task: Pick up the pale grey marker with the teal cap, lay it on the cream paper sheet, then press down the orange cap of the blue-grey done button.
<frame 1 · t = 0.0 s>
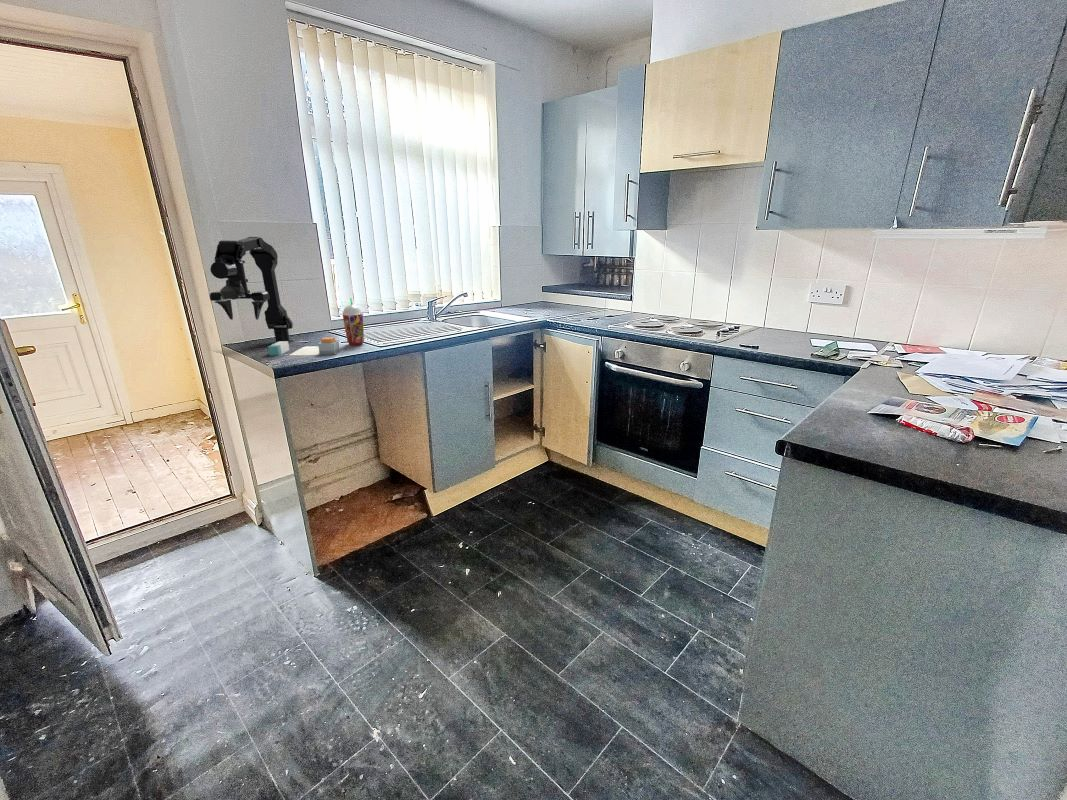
hand: (244, 319, 175), 15 cm above the worktop, tool pointing down, fingers open, 9 cm apart
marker: (279, 352, 188), on the worktop
done button: (328, 341, 187), point 5 cm above the worktop, slide at 0.0 cm
smoothie: (356, 344, 204), on the worktop
button housing: (329, 352, 188), on the worktop
paper sheet: (310, 350, 191), on the worktop
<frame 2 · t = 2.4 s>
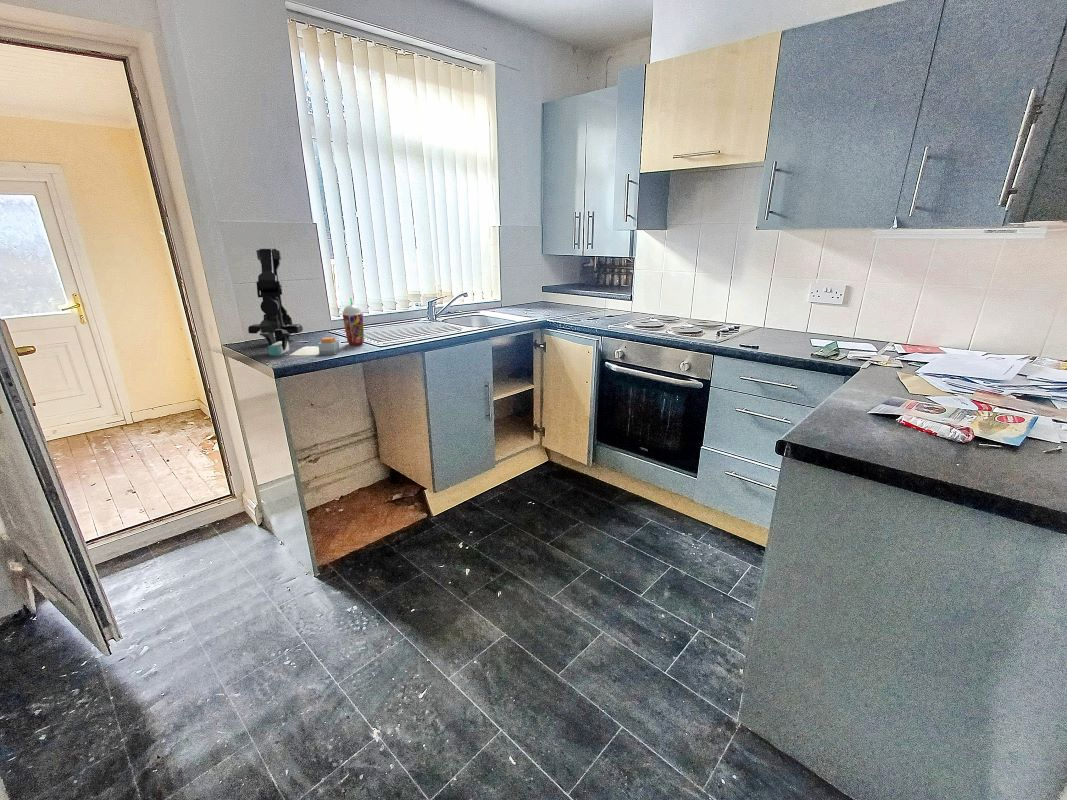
hand: (279, 350, 187), 1 cm above the worktop, tool pointing down, fingers closed on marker, 4 cm apart
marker: (279, 352, 188), on the worktop, touching gripper
everything else where it was.
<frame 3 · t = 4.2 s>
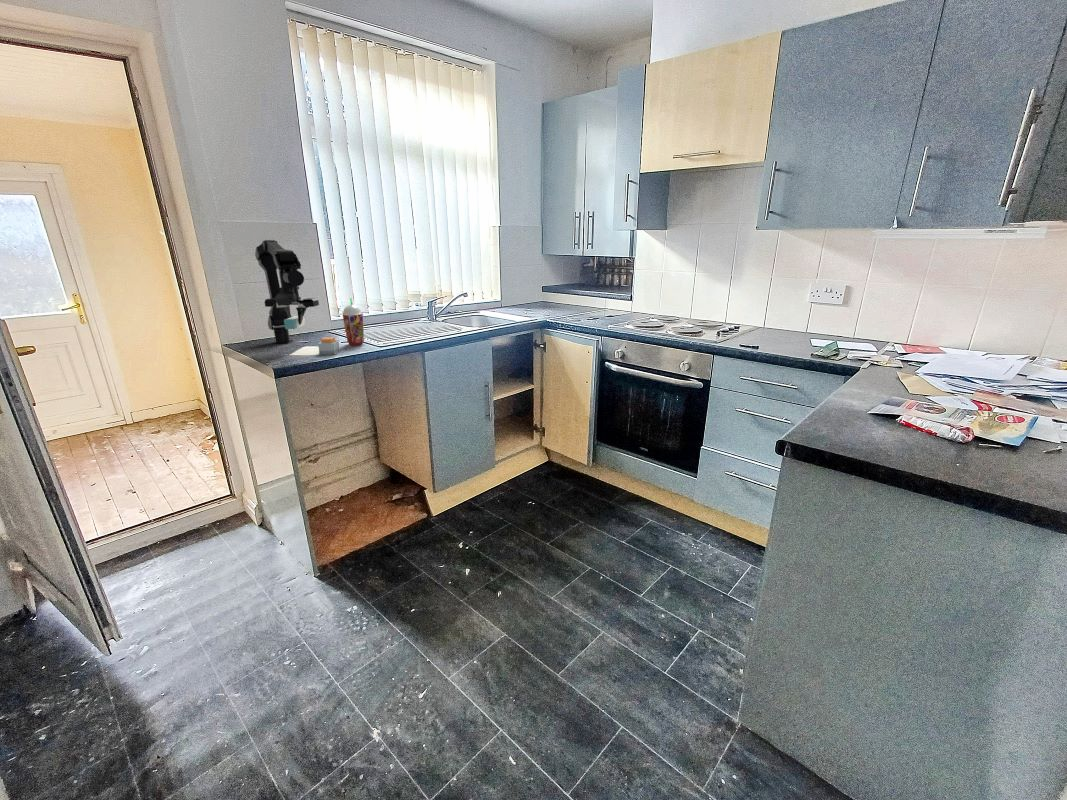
hand: (295, 324, 186), 11 cm above the worktop, tool pointing down, fingers closed on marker, 4 cm apart
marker: (295, 326, 186), point 10 cm above the worktop, touching gripper
everything else where it was.
when the fingers open (2 cm above the worktop, at t = 6.3 s): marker drops 1 cm, resting on paper sheet.
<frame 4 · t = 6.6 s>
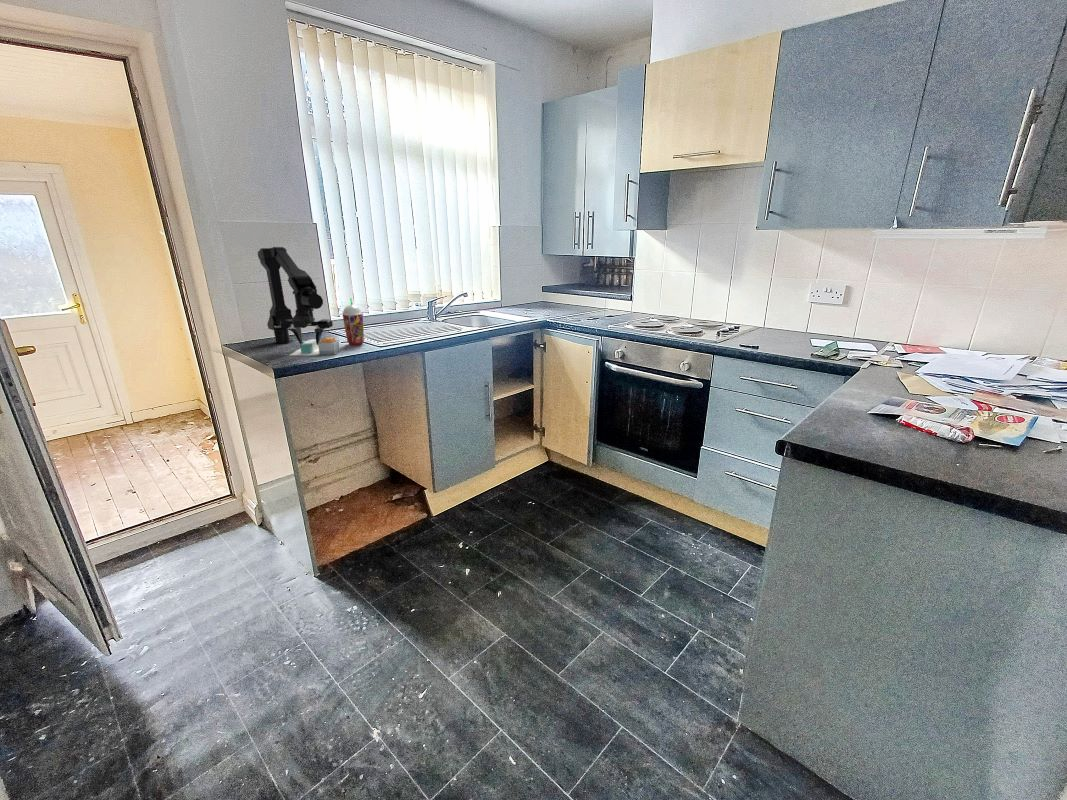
hand: (309, 344, 191), 2 cm above the worktop, tool pointing down, fingers open, 6 cm apart
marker: (310, 350, 191), resting on paper sheet
everything else where it was.
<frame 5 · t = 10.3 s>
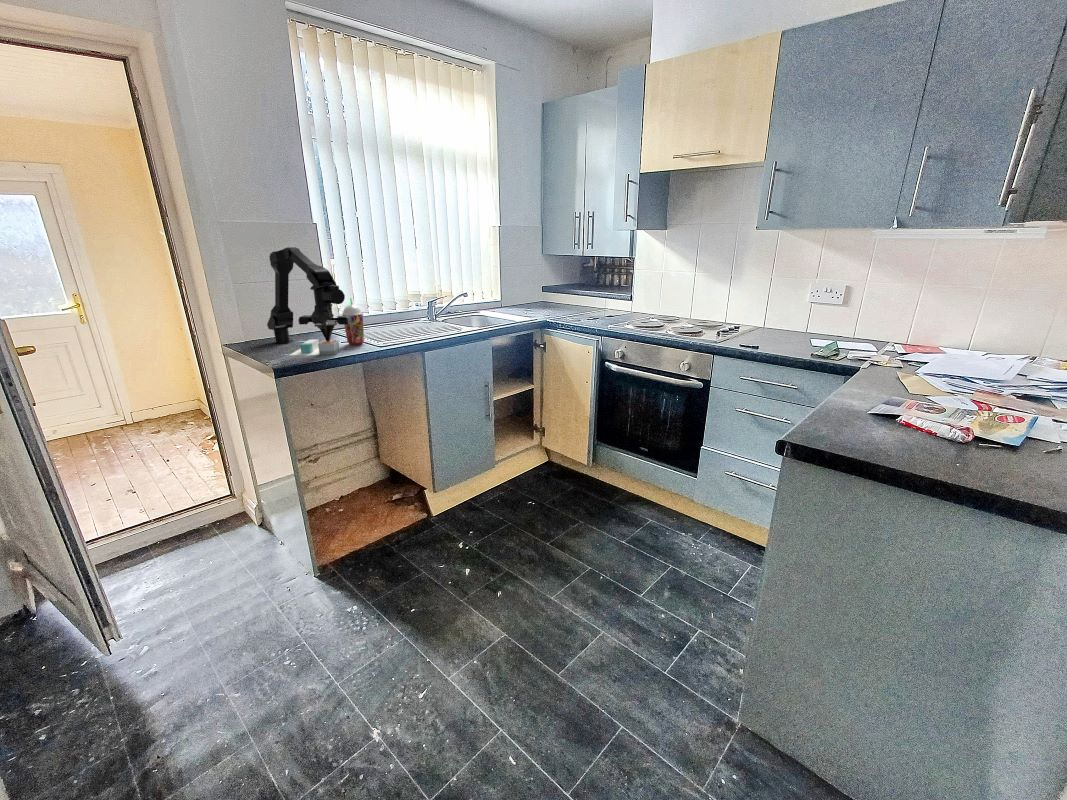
hand: (328, 341, 187), 5 cm above the worktop, tool pointing down, fingers closed, pressing on done button
done button: (328, 344, 187), point 3 cm above the worktop, slide at 1.2 cm, touching gripper
everything else where it was.
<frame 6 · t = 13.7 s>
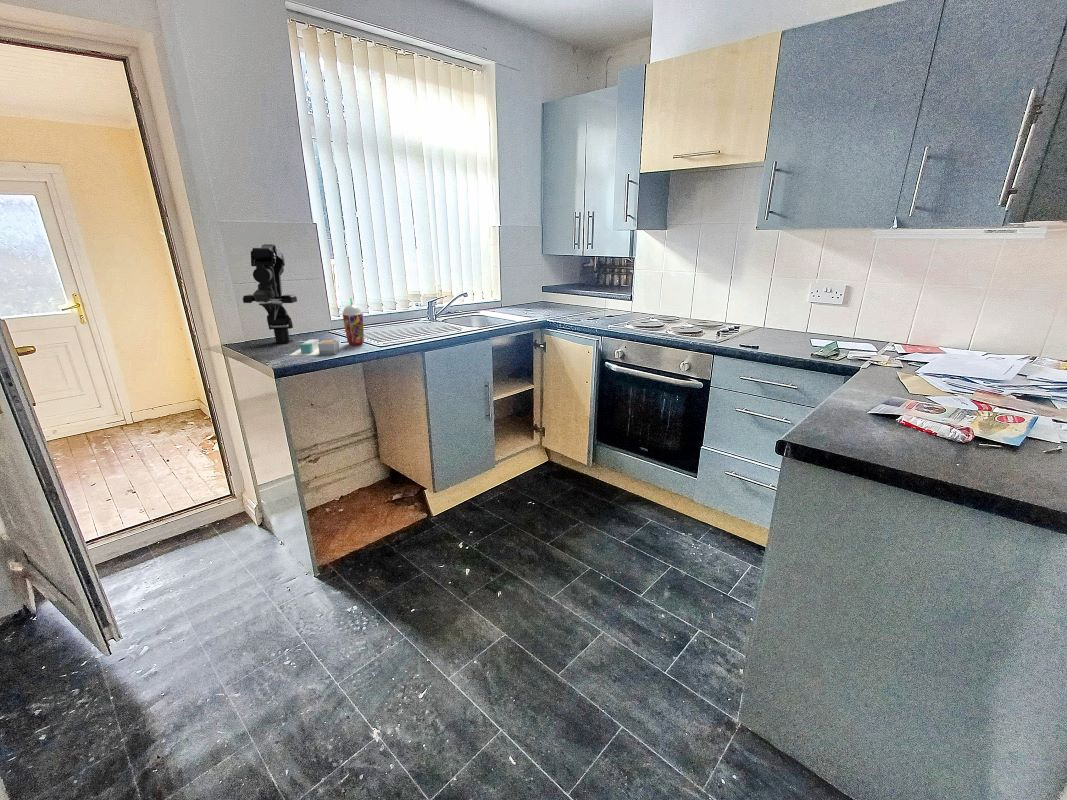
hand: (273, 320, 189), 12 cm above the worktop, tool pointing down, fingers closed
done button: (328, 344, 187), point 3 cm above the worktop, slide at 1.3 cm
everything else where it was.
at the end: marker inside the target area (0.1 cm from its centre), resting on paper sheet; the gripper is holding nothing; done button slide at 1.3 cm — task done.
